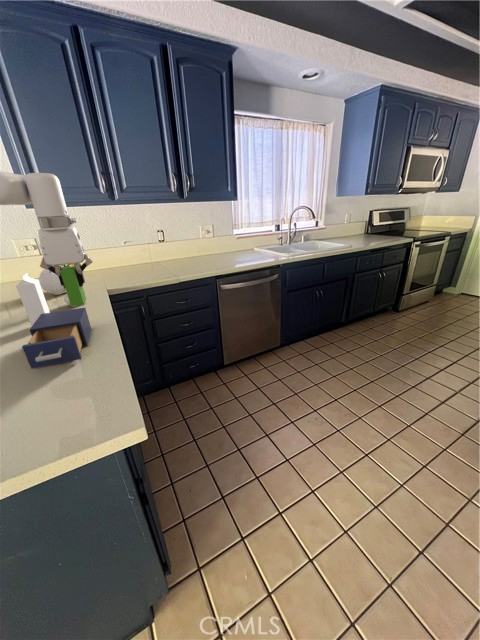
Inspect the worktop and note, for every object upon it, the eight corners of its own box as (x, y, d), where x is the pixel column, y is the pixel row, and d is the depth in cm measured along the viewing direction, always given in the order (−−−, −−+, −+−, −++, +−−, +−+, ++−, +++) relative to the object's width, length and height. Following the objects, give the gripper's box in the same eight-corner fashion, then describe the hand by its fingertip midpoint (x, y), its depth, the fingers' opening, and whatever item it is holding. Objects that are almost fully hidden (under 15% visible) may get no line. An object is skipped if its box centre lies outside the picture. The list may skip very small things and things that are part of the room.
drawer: (78, 367, 80) (71, 344, 77) (26, 378, 76) (16, 354, 73) (85, 340, 96) (80, 321, 93) (42, 348, 91) (34, 328, 88)
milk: (53, 322, 114) (36, 272, 105) (50, 327, 109) (32, 275, 100) (36, 324, 112) (17, 273, 103) (32, 330, 107) (12, 277, 98)
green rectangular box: (71, 306, 81) (60, 271, 76) (74, 300, 86) (63, 267, 81) (84, 304, 82) (73, 269, 77) (86, 299, 87) (76, 265, 82)
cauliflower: (65, 282, 140) (51, 256, 141) (38, 300, 141) (23, 274, 141) (89, 288, 160) (76, 265, 161) (65, 303, 160) (52, 280, 161)
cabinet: (87, 345, 94) (80, 321, 90) (39, 355, 89) (29, 329, 85) (91, 329, 107) (85, 307, 103) (49, 336, 102) (41, 313, 98)
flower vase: (92, 297, 144) (79, 250, 134) (88, 308, 129) (73, 256, 118) (65, 300, 140) (49, 252, 130) (57, 312, 124) (39, 259, 114)
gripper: (89, 221, 80) (104, 280, 87) (24, 224, 74) (45, 286, 82) (86, 222, 74) (102, 286, 81) (15, 226, 68) (39, 293, 76)
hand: (74, 285), depth 81 cm, fingers closed on green rectangular box, 3 cm apart
